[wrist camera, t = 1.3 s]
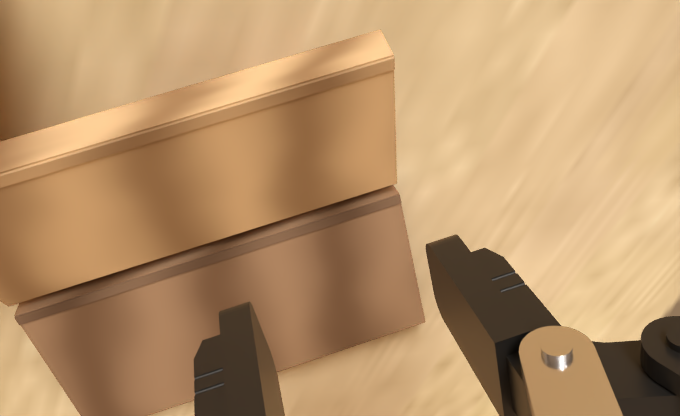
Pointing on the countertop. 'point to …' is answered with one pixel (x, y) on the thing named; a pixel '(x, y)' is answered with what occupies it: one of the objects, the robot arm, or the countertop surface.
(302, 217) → the walnut board
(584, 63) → the countertop surface
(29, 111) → the countertop surface
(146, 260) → the oak plank
